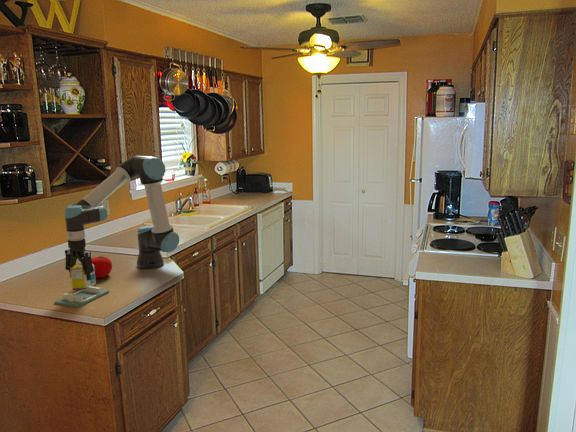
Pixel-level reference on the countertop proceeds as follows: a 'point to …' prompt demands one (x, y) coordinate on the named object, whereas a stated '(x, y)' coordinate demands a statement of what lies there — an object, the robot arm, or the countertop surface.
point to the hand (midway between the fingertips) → (81, 285)
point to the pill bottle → (93, 278)
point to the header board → (81, 297)
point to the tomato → (101, 266)
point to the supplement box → (77, 277)
